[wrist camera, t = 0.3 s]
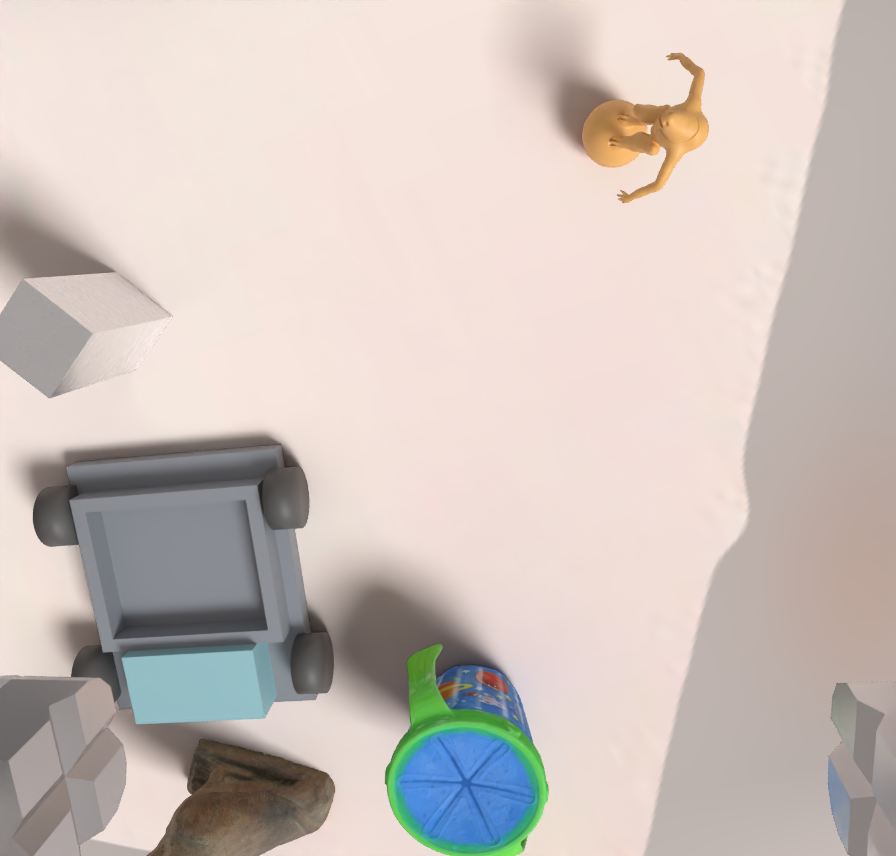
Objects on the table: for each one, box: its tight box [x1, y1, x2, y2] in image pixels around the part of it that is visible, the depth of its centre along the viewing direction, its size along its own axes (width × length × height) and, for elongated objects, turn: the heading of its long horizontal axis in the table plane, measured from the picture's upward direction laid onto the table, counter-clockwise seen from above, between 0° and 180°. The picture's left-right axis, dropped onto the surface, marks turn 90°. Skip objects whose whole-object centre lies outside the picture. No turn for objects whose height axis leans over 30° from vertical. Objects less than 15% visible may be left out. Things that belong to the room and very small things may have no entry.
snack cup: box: [385, 644, 549, 856], centre depth 57 cm, size 16×10×10 cm
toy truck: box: [33, 444, 334, 724], centre depth 59 cm, size 20×19×4 cm
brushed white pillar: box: [0, 272, 173, 398], centre depth 52 cm, size 5×5×11 cm
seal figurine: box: [147, 739, 335, 856], centre depth 58 cm, size 12×6×18 cm, turn 70°
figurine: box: [582, 53, 709, 203], centre depth 46 cm, size 8×6×12 cm
